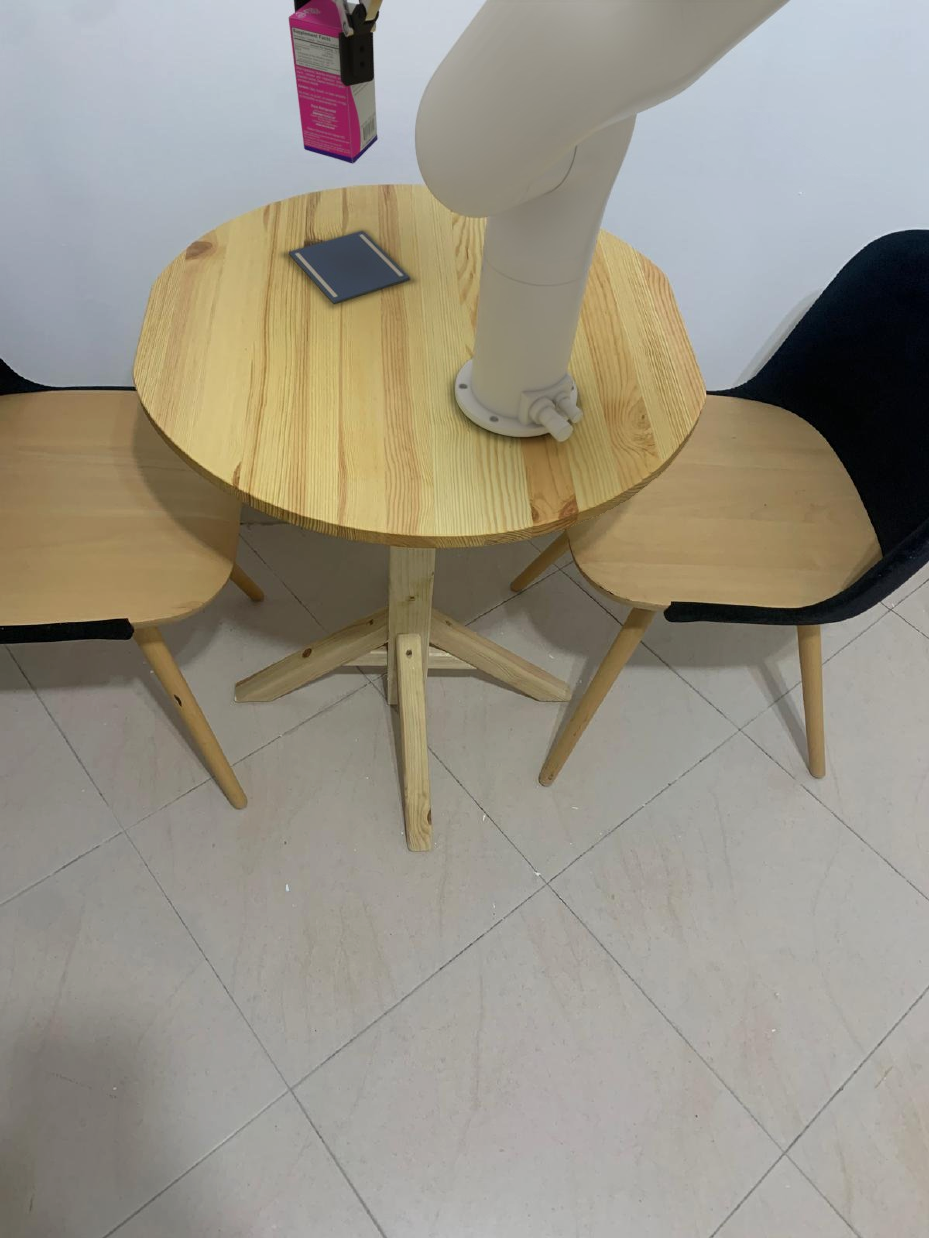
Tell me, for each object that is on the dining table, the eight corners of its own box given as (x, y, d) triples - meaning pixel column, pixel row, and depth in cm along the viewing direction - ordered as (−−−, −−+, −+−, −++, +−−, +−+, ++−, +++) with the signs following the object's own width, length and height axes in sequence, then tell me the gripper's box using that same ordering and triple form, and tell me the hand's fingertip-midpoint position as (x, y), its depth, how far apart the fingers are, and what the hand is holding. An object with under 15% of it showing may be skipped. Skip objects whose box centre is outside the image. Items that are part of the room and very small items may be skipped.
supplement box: (327, 126, 81) (318, -8, 71) (378, 140, 80) (376, 7, 70) (300, 150, 78) (286, 14, 68) (353, 165, 77) (347, 29, 67)
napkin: (409, 279, 90) (409, 277, 90) (333, 304, 86) (333, 301, 86) (363, 232, 95) (362, 230, 94) (288, 254, 91) (288, 251, 91)
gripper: (224, -231, 61) (258, 34, 75) (331, -168, 53) (345, 112, 68) (309, -234, 63) (326, 22, 78) (423, -176, 56) (418, 95, 70)
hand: (335, 62), depth 73 cm, fingers closed on supplement box, 7 cm apart
